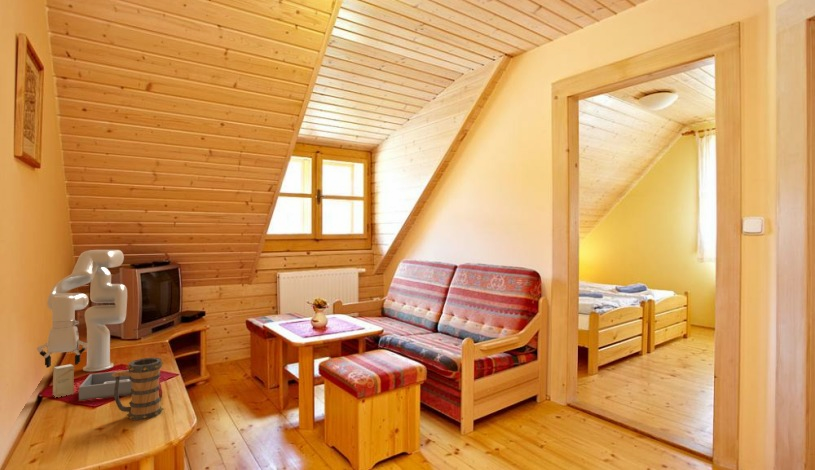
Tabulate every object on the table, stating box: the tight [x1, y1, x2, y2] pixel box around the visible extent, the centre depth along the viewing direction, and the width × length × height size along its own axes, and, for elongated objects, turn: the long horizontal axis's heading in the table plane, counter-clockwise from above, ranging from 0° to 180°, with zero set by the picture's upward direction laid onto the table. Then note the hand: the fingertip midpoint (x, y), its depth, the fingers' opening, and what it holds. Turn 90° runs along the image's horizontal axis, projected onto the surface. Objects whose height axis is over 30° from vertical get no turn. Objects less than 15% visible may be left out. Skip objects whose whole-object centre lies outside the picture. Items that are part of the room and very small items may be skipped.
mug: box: [112, 357, 165, 421], centre depth 164 cm, size 13×17×20 cm
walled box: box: [78, 369, 132, 402], centre depth 189 cm, size 18×22×6 cm
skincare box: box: [52, 363, 75, 398], centre depth 184 cm, size 6×4×12 cm
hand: (62, 365), depth 184 cm, fingers open, 9 cm apart
